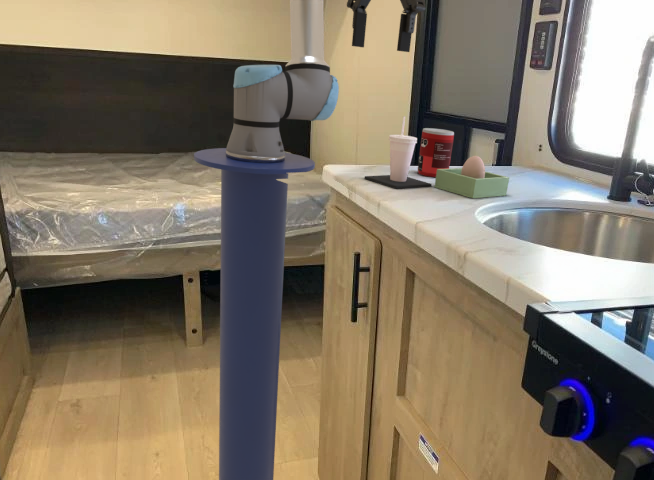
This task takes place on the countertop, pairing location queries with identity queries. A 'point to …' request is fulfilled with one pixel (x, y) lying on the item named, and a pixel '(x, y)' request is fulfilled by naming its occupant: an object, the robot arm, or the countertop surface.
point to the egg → (474, 168)
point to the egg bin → (471, 183)
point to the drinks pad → (396, 184)
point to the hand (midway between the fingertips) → (379, 49)
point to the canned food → (435, 151)
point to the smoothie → (401, 155)
